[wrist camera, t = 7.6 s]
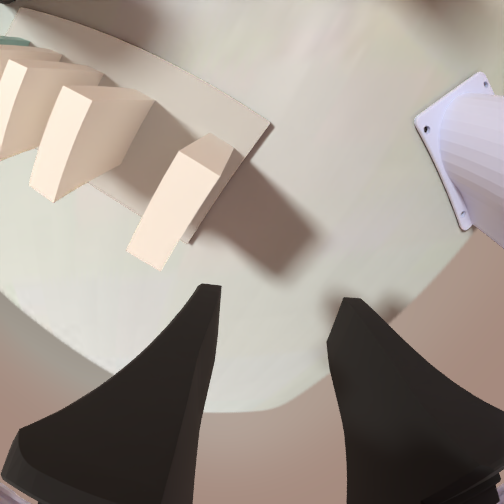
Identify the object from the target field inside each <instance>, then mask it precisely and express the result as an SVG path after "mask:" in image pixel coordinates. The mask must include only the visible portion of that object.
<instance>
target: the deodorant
mask: <svg viewBox="0 0 504 504" xmlns="http://www.w3.org/2000/svg"><path fill="white" fill-rule="evenodd" d="M13 1H15V0H0V3H2V4H9V3H11V2H13Z"/></svg>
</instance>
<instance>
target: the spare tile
mask: <svg viewBox="0 0 504 504" xmlns="http://www.w3.org/2000/svg"><path fill="white" fill-rule="evenodd" d="M233 149H234V147H232V146H231V145H229V144H227V143H226V142H224V141H223V140H221V139H220V138H218V137H216V136H215V135H213V134H212V133H209V134H207V135H205V136H203V137H201V138H200V139H198V140H196V141H195V142H193V143H191V144H189V145H188V146H186V147H184V148H183V149H181V150H179V151H178V153H177V155H176V156H175V158H174V160H173V161H172V163H171V165H170V167H169V168H168V170H167V172H166V174H165V175H164V177H163V179H162V181H161V182H160V184H159V186H158V188H157V190H156V192H155V193H154V195H153V197H152V199H151V201H150V203H149V205H148V207H147V209H146V210H145V212H144V214H143V216H142V218H141V220H140V222H139V224H138V226H137V228H136V230H135V232H134V234H133V237H132V239H131V241H130V243H129V245H128V247H127V249H126V251H127V252H129V253H131V254H132V255H134V256H135V257H137V258H139V259H140V260H142V261H144V262H145V263H147V264H149V265H150V266H152V267H154V268H156V269H157V270H159V271H161V270H162V268H163V267H164V265H165V263H166V262H167V260H168V258H169V256H170V255H171V253H172V251H173V250H174V248H175V246H176V245H177V243H178V241H179V240H180V238H181V237H182V235H183V233H184V232H185V230H186V228H187V227H188V225H189V224H190V222H191V220H192V219H193V217H194V216H195V214H196V213H197V211H198V209H199V208H200V206H201V205H202V203H203V202H204V200H205V199H206V197H207V196H208V194H209V192H210V191H211V189H212V188H213V186H214V185H215V183H216V182H217V180H218V179H219V177H220V176H221V174H222V172H223V170H224V167H225V165H226V163H227V161H228V159H229V157H230V155H231V153H232V151H233Z"/></svg>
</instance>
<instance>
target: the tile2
mask: <svg viewBox="0 0 504 504" xmlns="http://www.w3.org/2000/svg"><path fill="white" fill-rule="evenodd" d="M154 102H155V100H154V99H152V98H150V97H148V96H147V95H145V94H143V93H141V92H139V91H137V90H135V89H132V88H120V87H106V86H79V85H63V87H62V89H61V91H60V94H59V96H58V98H57V100H56V103H55V105H54V108H53V110H52V113H51V115H50V118H49V120H48V123H47V126H46V129H45V131H44V134H43V137H42V140H41V143H40V146H39V150H38V153H37V156H36V159H35V163H34V166H33V170H32V174H31V178H30V182H29V186H31V187H32V188H33V189H35V190H36V191H37V192H39V193H40V194H42V195H43V196H44V197H46V198H47V199H49V200H50V201H52V202H53V203H54V202H56V201H57V200H59V199H61V198H62V197H64V196H65V195H67V194H69V193H70V192H72V191H74V190H75V189H77V188H79V187H80V186H82V185H84V184H86V183H87V182H89V181H91V180H93V179H94V178H96V177H98V176H100V175H102V174H104V173H105V172H107V171H109V170H111V169H113V168H115V167H117V166H119V165H121V163H122V161H123V159H124V157H125V155H126V153H127V151H128V149H129V147H130V145H131V143H132V141H133V139H134V137H135V135H136V133H137V132H138V130H139V128H140V126H141V124H142V122H143V121H144V119H145V117H146V115H147V114H148V112H149V110H150V108H151V107H152V105H153V103H154Z"/></svg>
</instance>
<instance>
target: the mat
mask: <svg viewBox="0 0 504 504" xmlns="http://www.w3.org/2000/svg"><path fill="white" fill-rule="evenodd" d="M5 36H8V37H19V38H22V39H25V40H28V41H30V44H29V47H38V48H47V49H51V50H53V51H55V52H58V53H60V54H62V57H61V59H60V61H59V62H64V63H73V64H81V65H87V66H89V67H91V68H93V69H95V70H97V71H100V72H102V73H104V75H103V77H102V78H101V80H100V82H99V84H98V86H106V87H120V88H132V89H135V90H137V91H139V92H141V93H143V94H145V95H147V96H148V97H150V98H152V99H154V100H155V102H154V103H153V105H152V107H151V108H150V110H149V112H148V114H147V115H146V117H145V119H144V121H143V122H142V124H141V126H140V128H139V130H138V132H137V133H136V135H135V137H134V139H133V141H132V143H131V145H130V147H129V149H128V151H127V153H126V155H125V157H124V159H123V161H122V163H121V165H119V166H117V167H115V168H113V169H111V170H109V171H107V172H105V173H104V174H102V175H100V176H98V177H96V178H94V179H93V180H91V181H89V182H87V183H89V184H90V185H92V186H93V187H95V188H96V189H98V190H100V191H101V192H103V193H104V194H106V195H107V196H109V197H111V198H112V199H114V200H115V201H117V202H119V203H120V204H122V205H123V206H125V207H127V208H128V209H130V210H131V211H133V212H135V213H136V214H138V215H140V216H141V217H142V216H143V214H144V212H145V210H146V209H147V207H148V205H149V203H150V201H151V199H152V197H153V195H154V193H155V192H156V190H157V188H158V186H159V184H160V182H161V181H162V179H163V177H164V175H165V174H166V172H167V170H168V168H169V167H170V165H171V163H172V161H173V160H174V158H175V156H176V155H177V153H178V151H179V150H181V149H183V148H184V147H186V146H188V145H189V144H191V143H193V142H195V141H196V140H198V139H200V138H201V137H203V136H205V135H207V134H209V133H212V134H213V135H215V136H216V137H218V138H220V139H221V140H223V141H224V142H226V143H227V144H229V145H231V146H232V147H234V149H233V151H232V153H231V155H230V157H229V159H228V161H227V163H226V165H225V167H224V170H223V172H222V174H221V176H220V177H219V179H218V180H217V182H216V183H215V185H214V186H213V188H212V189H211V191H210V192H209V194H208V196H207V197H206V199H205V200H204V202H203V203H202V205H201V206H200V208H199V209H198V211H197V213H196V214H195V216H194V217H193V219H192V220H191V222H190V224H189V225H188V227H187V228H186V230H185V232H184V233H183V235H182V237H181V238H180V240H181V241H182V242H184V243H186V244H188V242H189V241H190V239H191V237H192V236H193V234H194V233H195V231H196V230H197V228H198V227H199V225H200V223H201V222H202V220H203V219H204V217H205V216H206V214H207V213H208V211H209V210H210V208H211V207H212V205H213V204H214V202H215V201H216V199H217V198H218V196H219V195H220V193H221V192H222V190H223V189H224V188H225V186H226V185H227V183H228V182H229V180H230V179H231V177H232V176H233V174H234V173H235V172H236V170H237V169H238V167H239V166H240V164H241V163H242V162H243V160H244V159H245V157H246V156H247V155H248V153H249V152H250V150H251V149H252V148H253V146H254V145H255V143H256V142H257V141H258V139H259V138H260V137H261V135H262V134H263V133H264V131H265V130H266V128H267V127H268V126H269V124H270V122H269V121H268V120H266V119H265V118H263V117H262V116H260V115H259V114H257V113H256V112H254V111H252V110H251V109H249V108H248V107H246V106H245V105H243V104H242V103H240V102H238V101H237V100H235V99H234V98H232V97H230V96H229V95H227V94H225V93H224V92H222V91H220V90H219V89H217V88H215V87H214V86H212V85H210V84H208V83H207V82H205V81H203V80H201V79H200V78H198V77H196V76H194V75H192V74H191V73H189V72H187V71H185V70H183V69H181V68H179V67H177V66H176V65H174V64H172V63H170V62H168V61H166V60H164V59H162V58H160V57H158V56H156V55H154V54H151V53H149V52H147V51H145V50H143V49H141V48H139V47H136V46H134V45H132V44H130V43H127V42H125V41H123V40H120V39H118V38H116V37H113V36H111V35H108V34H106V33H103V32H101V31H98V30H95V29H93V28H90V27H87V26H84V25H82V24H79V23H76V22H73V21H70V20H67V19H64V18H60V17H57V16H54V15H50V14H47V13H43V12H39V11H36V10H32V9H27V8H23V7H20V8H19V10H18V12H17V14H16V16H15V17H14V19H13V21H12V23H11V25H10V27H9V29H8V31H7V33H6V35H5ZM35 149H36V150H39V147H37V148H35Z"/></svg>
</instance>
